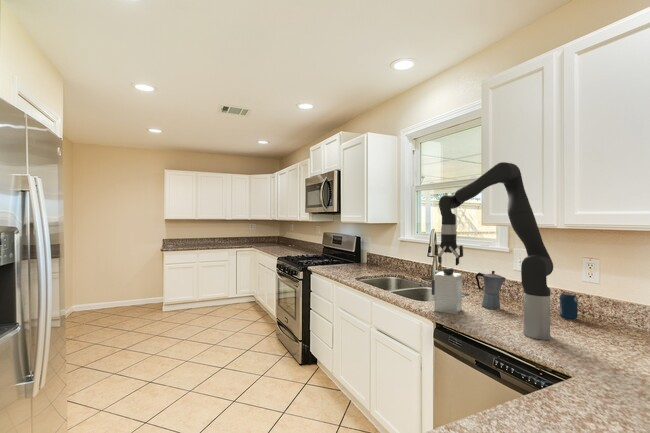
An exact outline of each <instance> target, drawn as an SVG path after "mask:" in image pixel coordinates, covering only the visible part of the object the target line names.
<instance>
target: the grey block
mask: <svg viewBox="0 0 650 433" xmlns="http://www.w3.org/2000/svg"><path fill="white" fill-rule="evenodd" d="M462 292H463V273H460V272H459V273H458V272H454V274H450V275H449V274H445V273H443V271H439V272H437V273H434V279H431V295H432V296H434V306H433V307H434V311H433V312H439V313H444V314H450V315H457V316H458V314H459V313H460V312H461V311H462V310H463V308H462V307H463V300H462V299H463V296H462V295H463V293H462Z"/></svg>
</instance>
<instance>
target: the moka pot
mask: <svg viewBox="0 0 650 433" xmlns="http://www.w3.org/2000/svg"><path fill="white" fill-rule="evenodd" d="M495 272H496V271H495V270H491V273H484V272H483V273H482V272H477V273H476V275H475V276H474V277H475V281H476V284H477V288H478V290H481V291H484V293H483V296H482V297H483V298H482V302H481V306H482V307H484V308H485V309H490V310H499V309H501V302H500V299H501V298H500V291H501V288H502V285H503V284H504V282H505V280H507V278H506V277H505V276H502V275H500V274H497V273H496V274H495ZM479 277H482V279H483V287H481V285H480V281H479Z"/></svg>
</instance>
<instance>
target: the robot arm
mask: <svg viewBox="0 0 650 433" xmlns="http://www.w3.org/2000/svg"><path fill="white" fill-rule="evenodd" d="M496 184H497V185H498V184H503V185H504V189H505V191H506V192H507V198H508V199H507V200H508V201H507V215H508V216H507V217H508V219H509V222H510V224H511V228H512V229H513V231H514V233H515V234H516V235H517V237H518V238H519V240H520V241H521V242H522V244H523V245H524V249H525V250H526V255H527V256H526V257H524V259H522V261H521V265H520V266H521V267H520V272H521V274H520V276H521V287H522V289H523V313H522V314H523V319H522V320H523V324H522V325H523V327H522V329H523V332H522V333H523V335H524V336H526V337H529V338H532V339H537V340H547V341H550V340H551V289H550V287H549V286H548V282H547V277H548V276H549V275H551V274H552V273H553V271H554V263H553V261H552V258H551V255H550V254H549V252H548V250H547V248H546V246H545V244H544V241H543V238H542V234H541V232H540V229H539V227H538V223H537V220H536V218H535V214H534V211H533V208H532V206H531V204H530V200H529V197H528V195H527V193H526V192H527V191H526V190H525V186H524V182H523V177H522V172H521V170H520V168H519V166H518V165H516V164H515V163H512V162H505V161H502V162H497V163H496V164H495V165H494V166H491V168H489V169H488V170H487V171H486V172H484V173H483V174H482V175H480V176H479V177H478V178H476V179H474V180H472V181H471V182H469V183H468V184H466V185H464V186H462V187H460V188H458V189H456V191H455V192H454V194H452V195H447V194H443V195H442V196H441V197H440V198H439V200H438V206H439V210H440V215H441V228H440V244H438V243H435V244H434V254H433V255H434V256H436V257H437V262H438V263H439V265H441V264H442V262H443V260H442V258H443V257H442V256H443V254H444V253H445V254H447V253H449V254H453V255H454V257H455V266H458V265H459V264H460V258H463V257H464V245H462V244H461V245H460V244H459V245H458V244H457V216H456V214H455V213H453V211H452V209H453V210H454V209H456V208H459V207H460V206H461V205H464V203H465V202H467V201H470V200H472V199H474V198H475V197H477V196H478V195H479V194H481V193H482V192H483V191H484V190H486V189H487V188H489V187H492V186H494V185H496ZM439 248H441V250H440V252H439ZM457 249H458V251H459V252H457Z"/></svg>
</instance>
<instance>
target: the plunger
mask: <svg viewBox="0 0 650 433" xmlns="http://www.w3.org/2000/svg"><path fill="white" fill-rule="evenodd" d="M454 270H455V269H454V268H453V267H443V271H442V272H443V273H445V274H449V275H450V274H454V273H455V272H454Z"/></svg>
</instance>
